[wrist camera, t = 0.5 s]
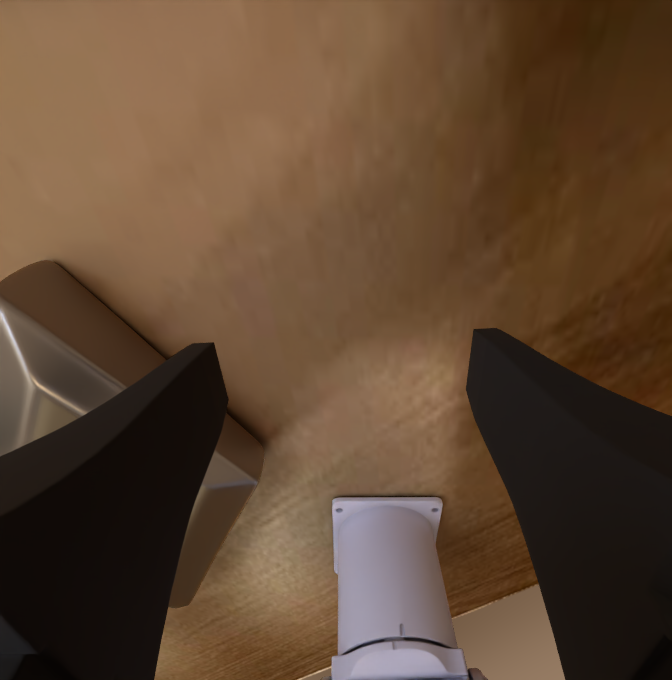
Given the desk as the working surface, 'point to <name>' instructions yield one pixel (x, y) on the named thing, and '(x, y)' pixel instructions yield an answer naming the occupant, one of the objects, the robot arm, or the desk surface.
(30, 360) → the emblem
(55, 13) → the desk surface
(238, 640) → the desk surface
